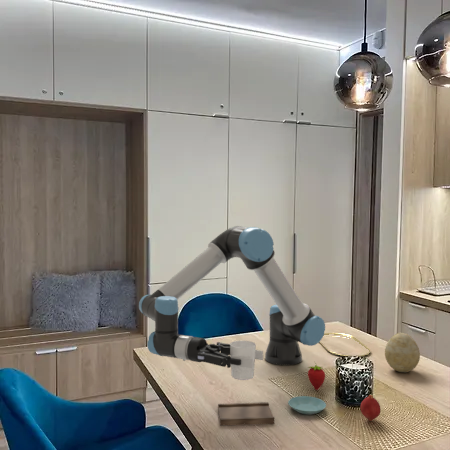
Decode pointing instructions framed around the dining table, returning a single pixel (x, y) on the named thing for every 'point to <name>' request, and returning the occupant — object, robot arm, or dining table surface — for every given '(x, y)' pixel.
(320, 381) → the strawberry
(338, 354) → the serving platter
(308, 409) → the saucer
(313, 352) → the dining table surface
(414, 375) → the dining table surface
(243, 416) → the walnut board
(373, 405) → the red rounded fruit
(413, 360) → the fossilized egg
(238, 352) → the white cup
